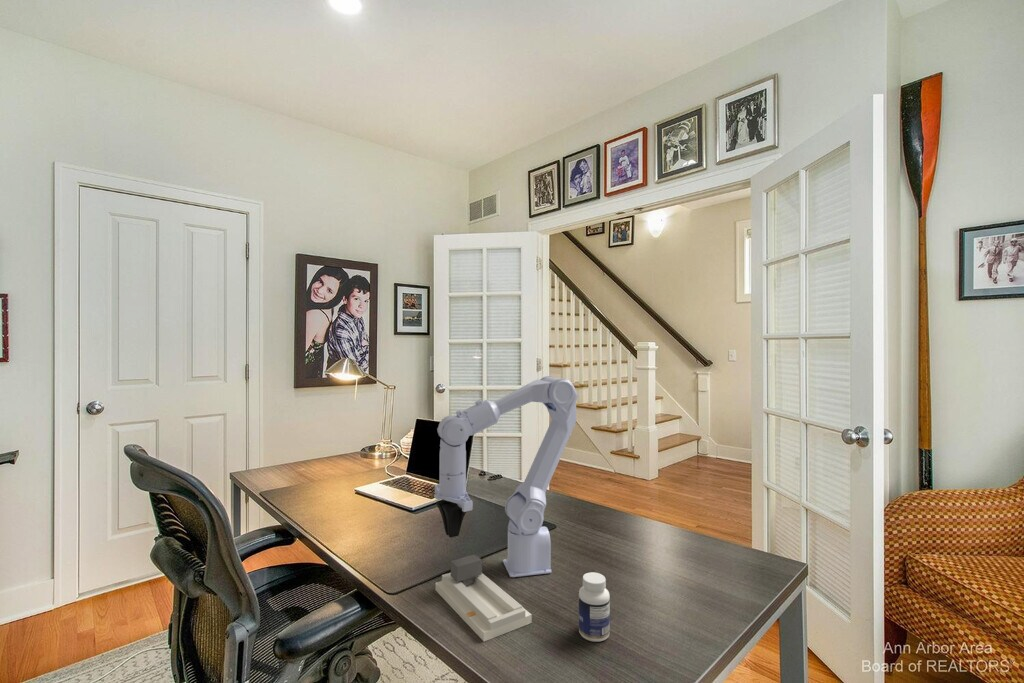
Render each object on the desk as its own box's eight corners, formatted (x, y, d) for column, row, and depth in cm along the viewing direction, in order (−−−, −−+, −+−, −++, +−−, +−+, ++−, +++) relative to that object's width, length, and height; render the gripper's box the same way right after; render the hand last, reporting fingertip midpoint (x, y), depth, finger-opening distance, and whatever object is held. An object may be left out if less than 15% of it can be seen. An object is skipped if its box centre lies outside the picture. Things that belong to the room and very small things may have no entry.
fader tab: (450, 583, 95) (450, 560, 96) (474, 576, 99) (474, 554, 99) (457, 590, 93) (457, 566, 93) (481, 582, 96) (481, 559, 96)
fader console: (435, 590, 96) (435, 575, 96) (478, 577, 102) (478, 563, 102) (483, 641, 80) (483, 623, 80) (531, 622, 85) (531, 606, 85)
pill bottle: (575, 624, 85) (575, 570, 85) (604, 623, 85) (604, 569, 85) (582, 643, 79) (582, 585, 79) (613, 642, 80) (613, 584, 80)
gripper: (422, 467, 105) (421, 527, 105) (450, 483, 93) (450, 551, 93) (450, 463, 109) (450, 521, 109) (481, 477, 97) (481, 543, 97)
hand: (452, 535), depth 101 cm, fingers closed
